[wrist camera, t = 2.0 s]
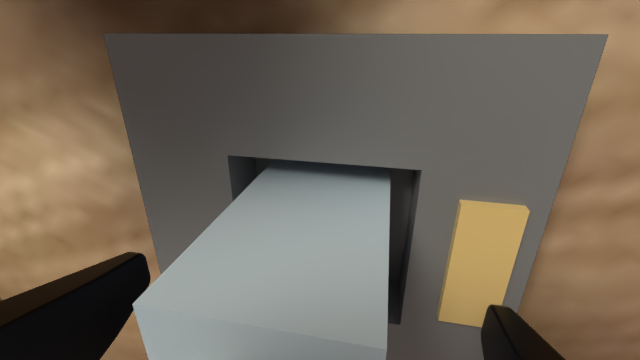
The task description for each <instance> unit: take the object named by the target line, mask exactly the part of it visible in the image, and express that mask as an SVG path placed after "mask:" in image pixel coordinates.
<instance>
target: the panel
mask: <svg viewBox="0 0 640 360" xmlns="http://www.w3.org/2000/svg"><path fill="white" fill-rule="evenodd" d="M103 34H104V39H105V43H106V47H107V51H108V55H109V60H110V64H111V68H112V72H113V76H114V80H115V85H116V89H117V93H118V97H119V101H120V105H121V110H122V114H123V118H124V122H125V126H126V130H127V135H128V139H129V143H130V147H131V151H132V155H133V160H134V164H135V168H136V172H137V176H138V180H139V185H140V189H141V193H142V197H143V201H144V205H145V210H146V214H147V218H148V222H149V226H150V230H151V235H152V239H153V243H154V247H155V251H156V256H157V260H158V264H159V268H160V272H161V274H162V273H163V272H164V271H165V270H166V269H167V268H168V267H169V266H170V265H171V264H172V263H173V262H174V261H175V260H176V259H177V258H178V257H179V256H180V255H181V254H182V253H183V252H184V251H185V250H186V249H187V248H188V247H189V246H190V245H191V244H192V243H193V242H194V241H195V240H196V239H197V238H198V237H199V236H200V235H201V234H202V233H203V232H204V231H205V230H206V229H207V228H208V227H209V226H210V225H211V223H212V222H213V221H214V220H215V219H216V218H217V217H218V216H219V215H220V214H221V213H222V212H223V211H224V210H225V209H226V208H227V207H228V206H229V205H230V204H231V203H232V202H233V201H234V200H235V199H236V198H237V197H238V196H239V195H240V194H241V193H242V192H243V191H244V190H245V189H246V188H247V187H248V186H249V185H250V184H251V183H252V182H253V181H254V180H255V179H256V178H257V177H258V176H259V175H260V174H261V173H262V172H263V171H264V170H265V169H266V168H267V167H268V166H269V165H270V164H271V163H272V161H273V160H274V159H283V160H296V161H309V162H322V163H335V164H348V165H361V166H374V167H387V168H391V177H390V226H389V275H388V323H387V353H386V360H484V357H483V350H482V344H481V328H482V325H483V321H484V318H485V314H486V311H487V308H488V306H489V305H491V304H495V305H502V306H507V307H510V308H511V309H512V310H513V311H514V312H516V313H517V312H518V308H519V305H520V302H521V299H522V296H523V293H524V290H525V287H526V284H527V281H528V278H529V275H530V272H531V269H532V266H533V263H534V260H535V257H536V254H537V251H538V248H539V245H540V242H541V238H542V235H543V232H544V229H545V226H546V223H547V220H548V217H549V214H550V211H551V208H552V205H553V202H554V199H555V196H556V193H557V190H558V187H559V184H560V181H561V178H562V175H563V172H564V168H565V165H566V162H567V159H568V156H569V153H570V150H571V147H572V144H573V141H574V138H575V135H576V132H577V129H578V126H579V123H580V120H581V117H582V114H583V111H584V108H585V105H586V102H587V99H588V95H589V92H590V89H591V86H592V83H593V80H594V77H595V74H596V71H597V68H598V65H599V62H600V59H601V56H602V53H603V50H604V47H605V44H606V41H607V38H608V35H609V34H155V33H103Z"/></svg>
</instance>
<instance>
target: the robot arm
mask: <svg viewBox="0 0 640 360" xmlns="http://www.w3.org/2000/svg"><path fill="white" fill-rule="evenodd" d="M149 283H150V273H149V269H148V265H147V261H146V258H145V256H144V255H143V254H141V253H135V252H127V253H124V254H122V255H119V256H116V257H114V258H111V259H109V260H106V261H104V262H101V263H98V264H96V265H93V266H91V267H88V268H85V269H83V270H80V271H78V272H75V273H72V274H70V275H67V276H65V277H62V278H60V279H57V280H54V281H52V282H49V283H47V284H44V285H41V286H39V287H36V288H34V289H31V290H28V291H26V292H23V293H21V294H18V295H16V296H13V297H10V298H8V299H5V300H3V301H0V360H100V359H101V357H102V356H103V355H104V353H105V352H106V351H107V349H108V348H109V346H110V345H111V344H112V342H113V341H114V340H115V338H116V337H117V335H118V334H119V332H120V331H121V329H122V328H123V326H124V324H125V323H126V321H127V320H128V318H129V316H130V315H131V313H132V312H133V310H134V308H133V305H132V304H133V303H134V302H135V301H136V300H137V299H138V298H139V297H140V296H141V295H142V294H143V293H144V292H145V291H146V289H147V287H148V286H149ZM481 344H482V350H483V357H484V360H565V359H564V358H563V357H562V356H561V355H560V354H559V353H558V352H557V351H556V350H555V349H554V348H553V347H552V346H551V345H550V344H548V343H547V342H546V341H545V340H544V339H543V338H542V337H541V336H540V335H539V334H538V333H537V332H536V331H535V330H534V329H533V328H531V327H530V326H529V325H528V324H527V323H526V322H525V321H524V320H523V319H522V318H521V317H520V316H519V315H518V314H517V313H516V312H514V311H513V310H512V309H511V308H510V307H507V306H502V305H495V304H491V305H489V306H488V308H487V311H486V314H485V318H484V321H483V325H482V328H481Z"/></svg>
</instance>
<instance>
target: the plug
mask: <svg viewBox="0 0 640 360" xmlns="http://www.w3.org/2000/svg"><path fill="white" fill-rule="evenodd" d="M390 177H391V168H387V167H374V166H361V165H348V164H335V163H322V162H309V161H296V160H283V159H274V160H273V161H272V163H271V164H270V165H269V166H268V167H267V168H266V169H265V170H264V171H263V172H262V173H261V174H260V175H259V176H258V177H257V178H256V179H255V180H254V181H253V182H252V183H251V184H250V185H249V186H248V187H247V188H246V189H245V190H244V191H243V192H242V193H241V194H240V195H239V196H238V197H237V198H236V199H235V200H234V201H233V202H232V203H231V204H230V205H229V206H228V207H227V208H226V209H225V210H224V211H223V212H222V213H221V214H220V215H219V216H218V217H217V218H216V219H215V220H214V221H213V222H212V223H211V225H210V226H209V227H208V228H207V229H206V230H205V231H204V232H203V233H202V234H201V235H200V236H199V237H198V238H197V239H196V240H195V241H194V242H193V243H192V244H191V245H190V246H189V247H188V248H187V249H186V250H185V251H184V252H183V253H182V254H181V255H180V256H179V257H178V258H177V259H176V260H175V261H174V262H173V263H172V264H171V265H170V266H169V267H168V268H167V269H166V270H165V271H164V272H163V273H162V274H161V275H160V276H159V277H158V278H157V279H156V280H155V281H154V282H153V283H152V284H151V285H150V287H149V288H148V289H147V290H146V291H145V292H144V293H143V294H142V295H141V296H140V297H139V298H138V299H137V300H136V301H135V302H134V303H133V304H132V305H133V308H134V312H135V315H136V318H137V322H138V325H139V328H140V332H141V335H142V339H143V342H144V345H145V349H146V352H147V355H148V359H149V360H386V353H387V323H388V275H389V226H390Z"/></svg>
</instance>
